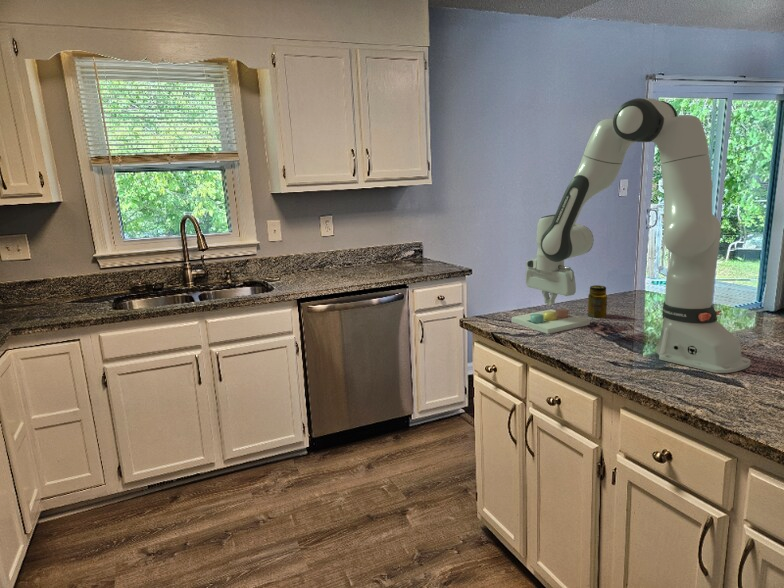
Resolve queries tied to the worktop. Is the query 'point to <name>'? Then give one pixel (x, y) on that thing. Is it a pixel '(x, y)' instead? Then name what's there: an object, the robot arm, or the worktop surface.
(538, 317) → the button teal
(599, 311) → the condiment
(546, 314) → the button mustard
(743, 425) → the worktop surface
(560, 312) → the salmon brown ball
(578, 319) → the panel
